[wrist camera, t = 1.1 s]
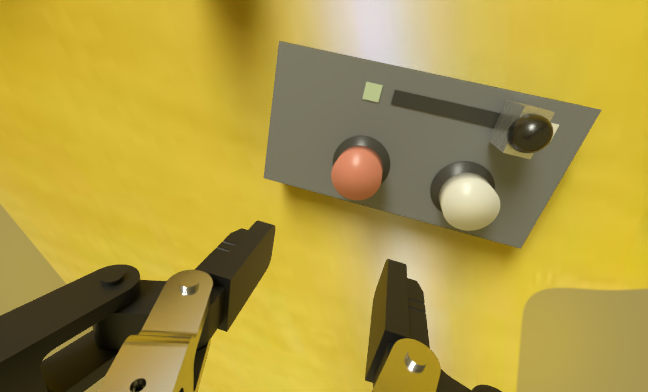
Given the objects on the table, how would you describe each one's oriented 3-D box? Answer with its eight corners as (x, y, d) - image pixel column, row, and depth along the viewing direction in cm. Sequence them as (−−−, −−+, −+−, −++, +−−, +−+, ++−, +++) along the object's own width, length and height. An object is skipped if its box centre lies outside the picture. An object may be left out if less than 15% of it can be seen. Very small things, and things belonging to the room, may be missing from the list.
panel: (569, 103, 23) (602, 110, 19) (504, 224, 28) (521, 249, 24) (295, 44, 25) (278, 40, 22) (279, 164, 30) (263, 178, 26)
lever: (536, 106, 19) (572, 117, 15) (516, 147, 21) (545, 167, 17) (501, 98, 20) (528, 107, 16) (484, 139, 21) (504, 157, 17)
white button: (500, 179, 21) (510, 190, 19) (479, 223, 23) (486, 236, 21) (449, 167, 22) (453, 176, 20) (431, 210, 23) (434, 222, 21)
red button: (388, 152, 22) (388, 159, 20) (376, 195, 24) (374, 205, 22) (341, 140, 22) (336, 146, 21) (332, 183, 24) (326, 193, 22)
